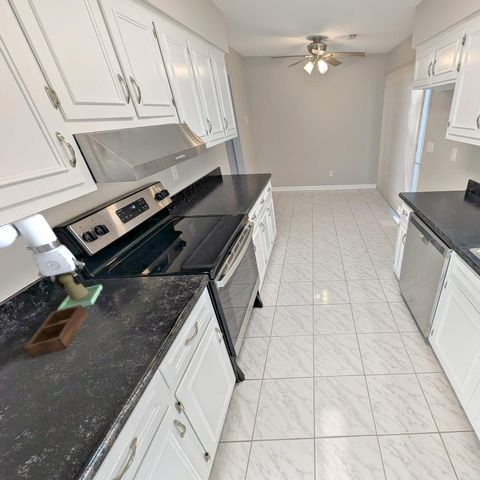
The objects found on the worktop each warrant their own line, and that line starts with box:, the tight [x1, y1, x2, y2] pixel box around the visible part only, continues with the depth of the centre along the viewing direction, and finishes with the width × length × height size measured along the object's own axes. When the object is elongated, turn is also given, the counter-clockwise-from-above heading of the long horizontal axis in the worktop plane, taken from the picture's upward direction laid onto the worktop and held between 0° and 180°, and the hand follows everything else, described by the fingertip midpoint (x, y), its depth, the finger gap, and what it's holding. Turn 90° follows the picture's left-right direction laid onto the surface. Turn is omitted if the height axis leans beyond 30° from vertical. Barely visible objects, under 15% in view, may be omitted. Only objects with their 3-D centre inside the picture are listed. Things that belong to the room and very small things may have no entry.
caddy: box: [24, 305, 88, 359], centre depth 90 cm, size 9×17×5 cm, turn 22°
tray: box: [56, 283, 103, 311], centre depth 107 cm, size 11×12×2 cm
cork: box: [59, 272, 89, 300], centre depth 104 cm, size 6×6×11 cm
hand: (72, 284), depth 104 cm, fingers closed on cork, 5 cm apart
